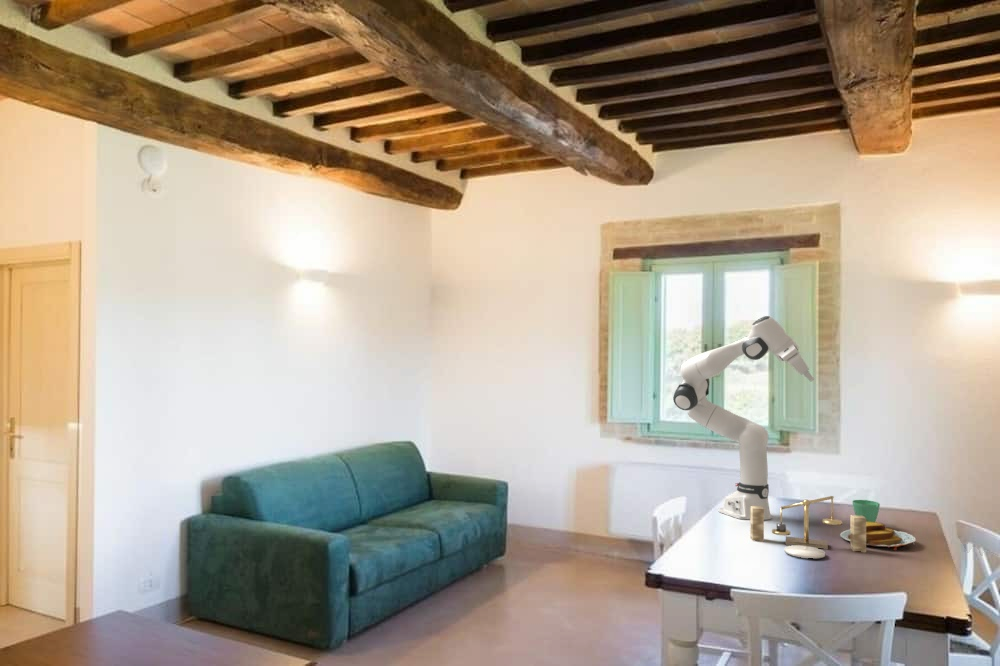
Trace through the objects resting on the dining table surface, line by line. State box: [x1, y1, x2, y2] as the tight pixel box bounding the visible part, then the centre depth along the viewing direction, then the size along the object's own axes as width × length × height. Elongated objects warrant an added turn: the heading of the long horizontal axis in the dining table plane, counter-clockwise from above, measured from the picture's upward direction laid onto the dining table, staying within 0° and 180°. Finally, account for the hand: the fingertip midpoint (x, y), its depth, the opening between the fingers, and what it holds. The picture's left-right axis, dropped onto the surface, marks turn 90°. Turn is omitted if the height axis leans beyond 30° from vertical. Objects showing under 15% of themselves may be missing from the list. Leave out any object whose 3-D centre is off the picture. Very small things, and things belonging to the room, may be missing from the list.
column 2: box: [849, 514, 867, 553], centre depth 254 cm, size 4×4×12 cm
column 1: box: [750, 506, 765, 542], centre depth 268 cm, size 4×4×12 cm
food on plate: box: [839, 521, 917, 551], centre depth 267 cm, size 25×25×7 cm
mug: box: [852, 499, 881, 522], centre depth 292 cm, size 15×10×10 cm
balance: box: [771, 495, 843, 550], centre depth 261 cm, size 24×7×19 cm, turn 67°
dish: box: [784, 545, 826, 559], centre depth 248 cm, size 13×13×2 cm
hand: (810, 378), depth 276 cm, fingers open, 8 cm apart
